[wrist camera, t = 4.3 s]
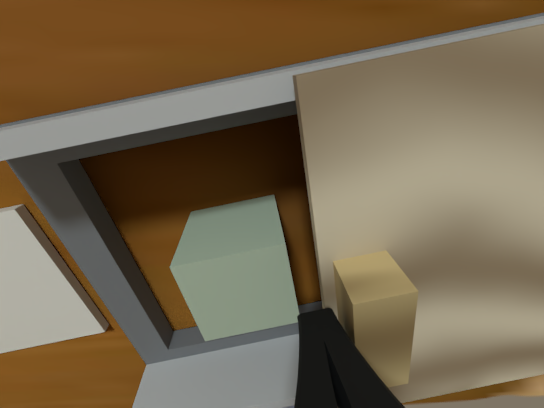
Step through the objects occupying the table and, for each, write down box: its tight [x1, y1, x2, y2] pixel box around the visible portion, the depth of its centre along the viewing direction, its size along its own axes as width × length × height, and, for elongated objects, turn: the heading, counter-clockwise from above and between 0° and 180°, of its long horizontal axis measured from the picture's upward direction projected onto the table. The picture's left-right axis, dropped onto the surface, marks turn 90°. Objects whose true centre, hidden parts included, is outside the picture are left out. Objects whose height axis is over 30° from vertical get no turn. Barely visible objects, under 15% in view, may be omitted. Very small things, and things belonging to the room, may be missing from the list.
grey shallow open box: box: [0, 13, 544, 408], centre depth 14 cm, size 18×25×6 cm
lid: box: [292, 24, 544, 407], centre depth 10 cm, size 18×13×3 cm
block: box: [170, 195, 299, 341], centre depth 14 cm, size 5×5×5 cm
